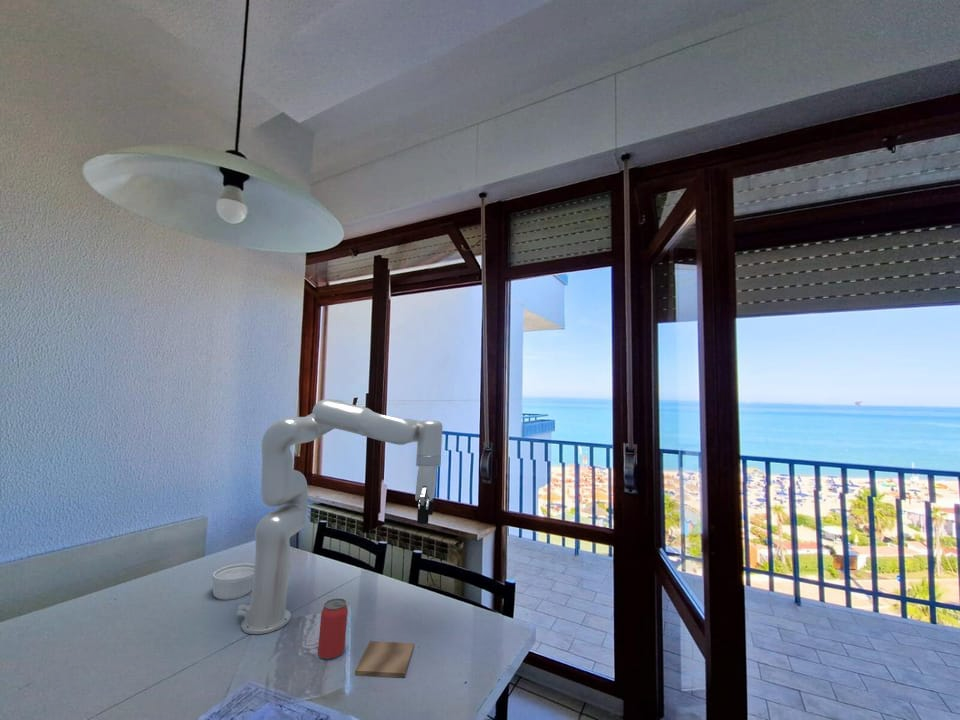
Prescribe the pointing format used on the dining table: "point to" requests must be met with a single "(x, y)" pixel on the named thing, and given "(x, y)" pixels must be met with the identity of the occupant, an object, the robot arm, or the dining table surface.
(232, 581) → the ramekin
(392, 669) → the coaster board
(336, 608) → the beer can
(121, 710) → the dining table surface
